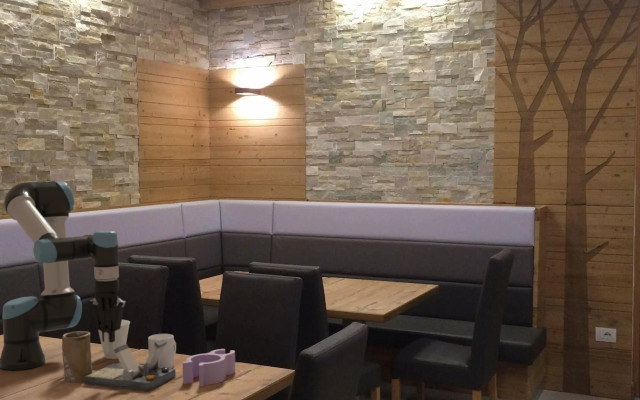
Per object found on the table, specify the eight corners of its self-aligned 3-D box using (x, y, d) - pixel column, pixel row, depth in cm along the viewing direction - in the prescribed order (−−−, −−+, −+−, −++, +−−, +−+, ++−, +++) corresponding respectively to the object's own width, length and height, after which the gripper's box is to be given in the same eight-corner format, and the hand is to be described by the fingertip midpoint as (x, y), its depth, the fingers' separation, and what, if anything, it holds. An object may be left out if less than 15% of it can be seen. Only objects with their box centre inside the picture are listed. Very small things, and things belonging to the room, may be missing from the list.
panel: (84, 384, 237) (83, 367, 236) (114, 370, 252) (114, 354, 252) (148, 390, 229) (148, 373, 228) (176, 375, 244) (176, 359, 244)
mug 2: (185, 363, 259) (185, 333, 259) (163, 372, 249) (162, 340, 248) (167, 360, 264) (166, 330, 263) (143, 368, 253) (142, 338, 253)
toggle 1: (128, 379, 233) (113, 350, 234) (137, 375, 237) (122, 346, 239) (133, 377, 232) (117, 347, 233) (141, 372, 237) (127, 343, 238)
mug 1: (77, 384, 237) (75, 338, 236) (49, 379, 243) (47, 334, 242) (97, 376, 245) (96, 332, 244) (70, 371, 251) (68, 328, 250)
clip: (214, 367, 255) (214, 347, 254) (244, 371, 249) (243, 351, 248) (176, 382, 237) (176, 361, 237) (207, 388, 231) (207, 366, 231)
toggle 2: (141, 368, 241) (154, 342, 239) (149, 364, 246) (163, 338, 244) (146, 372, 241) (159, 345, 239) (154, 368, 246) (167, 342, 243)
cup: (91, 357, 270) (90, 323, 269) (118, 350, 279) (117, 318, 278) (109, 362, 262) (108, 328, 261) (137, 355, 271) (136, 322, 270)
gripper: (82, 280, 235) (84, 353, 236) (117, 281, 230) (119, 356, 232) (96, 276, 242) (99, 347, 243) (130, 278, 237) (133, 350, 239)
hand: (109, 351), depth 237 cm, fingers closed
